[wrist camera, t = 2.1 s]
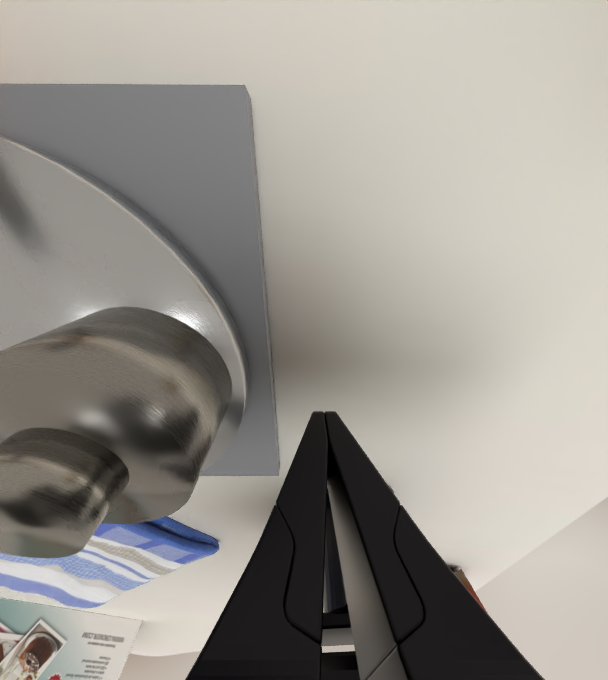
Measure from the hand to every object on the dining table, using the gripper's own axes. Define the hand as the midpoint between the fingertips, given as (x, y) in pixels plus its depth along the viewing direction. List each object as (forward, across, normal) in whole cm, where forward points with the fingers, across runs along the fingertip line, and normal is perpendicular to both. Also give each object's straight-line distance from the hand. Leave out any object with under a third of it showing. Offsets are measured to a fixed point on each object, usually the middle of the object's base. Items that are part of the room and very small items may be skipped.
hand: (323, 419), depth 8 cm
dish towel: (+5, +24, +24) cm, 34 cm away
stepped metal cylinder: (+2, +8, 0) cm, 8 cm away
